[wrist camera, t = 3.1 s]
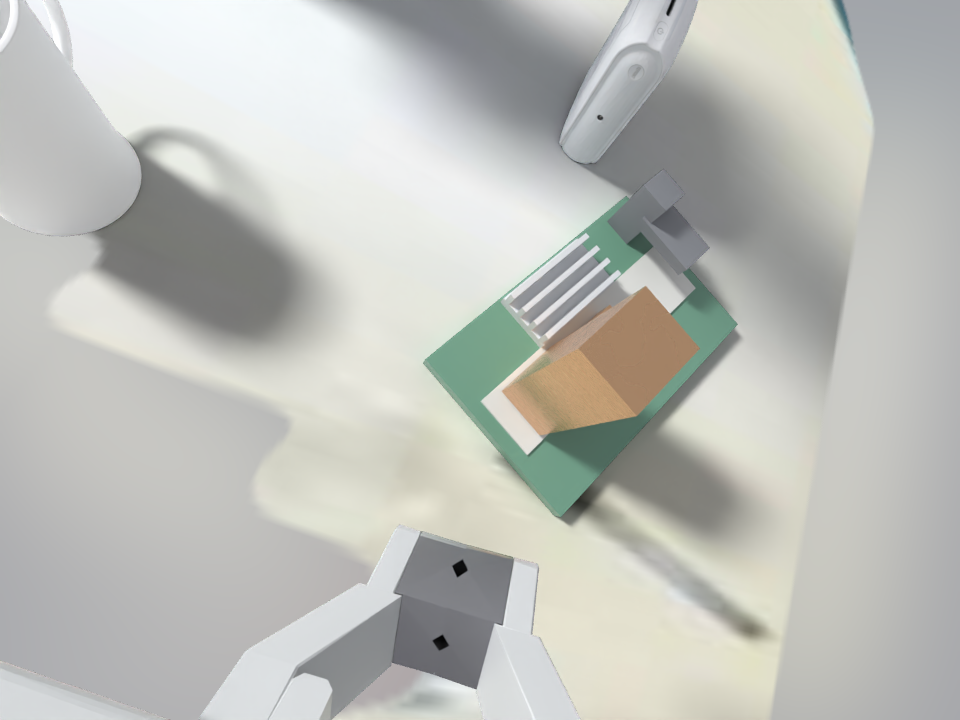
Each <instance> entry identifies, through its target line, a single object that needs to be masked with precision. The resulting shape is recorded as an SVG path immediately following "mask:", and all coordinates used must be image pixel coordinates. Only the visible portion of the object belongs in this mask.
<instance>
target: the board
mask: <svg viewBox="0 0 960 720" xmlns="http://www.w3.org/2000/svg"><path fill="white" fill-rule="evenodd" d="M684 195H685V193H684V191H683V190H682V189H681V188H680V187H679V186H678V185H677V183H676V182H675V181H674V180H673V179H672V178H671V176H670V175H669V174H668V173H667V172H666V171H665V170H664V169H663V170H661V171H660V172H659V173H658V174H656V175H655V176H654V177H653V178H652V179H650V180H649V181H648V182H647V183H645V184H644V185H643V186H642V187H641V188H640V189H639V190H638V191H637V192H636V193H635V194H634V195H633V196H632V197H631V198H630V199H629V198H628V197H627V196H626V197H625V198H623V199H622V200H621V201H620V202H618V203H617V204H616V205H615V206H614V207H612V208H611V209H610V210H609V211H607V212H606V213H605V214H604V215H602V216H601V217H600V218H599V219H598V220H596V221H595V222H594V223H593V224H591V225H590V226H589V227H588V228H586V229H585V230H584V231H583V232H581V233H580V234H579V235H578V236H577V237H575V238H574V239H573V240H572V241H570V242H569V243H568V244H567V245H565V246H564V247H563V248H562V249H561V250H559V251H558V252H557V253H556V254H554V255H553V256H552V257H551V258H549V259H548V260H547V261H546V262H545V263H543V264H542V265H541V266H540V267H538V268H537V269H536V270H535V271H533V272H532V273H531V274H530V275H529V276H527V277H526V278H525V279H524V280H522V281H521V282H520V283H519V284H517V285H516V286H515V287H514V288H513V289H511V290H510V291H509V292H508V293H506V294H505V295H504V296H503V297H501V298H500V299H499V300H498V301H497V302H495V303H494V304H493V305H492V306H490V307H489V308H488V309H487V310H485V311H484V312H483V313H482V314H481V315H479V316H478V317H477V318H476V319H474V320H473V321H472V322H471V323H469V324H468V325H467V326H466V327H465V328H463V329H462V330H461V331H460V332H458V333H457V334H456V335H455V336H453V337H452V338H451V339H450V340H449V341H447V342H446V343H445V344H444V345H442V346H441V347H440V348H439V349H437V350H436V351H435V352H434V353H433V354H431V355H430V356H429V357H428V358H426V359H425V361H424V362H423V364H424V365H425V366H426V367H427V368H428V370H429V371H430V372H431V373H432V374H433V375H434V376H435V378H436V379H437V380H438V381H439V382H440V383H441V385H442V386H443V387H444V388H445V389H446V390H447V392H448V393H449V394H450V395H451V396H452V397H453V399H454V400H455V401H456V402H457V403H458V404H459V406H460V407H461V408H462V409H463V410H464V411H465V413H466V414H467V415H468V416H469V417H470V418H471V420H472V421H473V422H474V423H475V424H476V425H477V427H478V428H479V429H480V430H481V431H482V432H483V434H484V435H485V436H486V437H487V438H488V439H489V441H490V442H491V443H492V444H493V445H494V446H495V448H496V449H497V450H498V451H499V452H500V453H501V455H502V456H503V457H504V458H505V459H506V460H507V462H508V463H509V464H510V465H511V466H512V467H513V469H514V470H515V471H516V472H517V473H518V474H519V476H520V477H521V478H522V479H523V480H524V481H525V482H526V484H527V485H528V486H529V487H530V488H531V489H532V491H533V492H534V493H535V494H536V495H537V496H538V498H539V499H540V500H541V501H542V502H543V503H544V505H545V506H546V507H547V508H548V509H549V510H550V512H551V513H552V514H553V515H554V516H558V517H561V516H562V515H563V514H564V513H565V512H566V511H567V510H568V509H569V508H570V507H571V505H572V504H573V503H574V502H575V501H576V500H577V499H578V498H579V497H580V496H581V495H582V493H583V492H584V491H585V490H586V489H587V488H588V487H589V486H590V485H591V484H592V483H593V482H594V480H595V479H596V478H597V477H598V476H599V475H600V474H601V473H602V472H603V471H604V470H605V468H606V467H607V466H608V465H609V464H610V463H611V462H612V461H613V460H614V459H615V458H616V456H617V455H618V454H619V453H620V452H621V451H622V450H623V449H624V448H625V447H626V446H627V444H628V443H629V442H630V441H631V440H632V439H633V438H634V437H635V436H636V435H637V434H638V432H639V431H640V430H641V429H642V428H643V427H644V426H645V425H646V424H647V423H648V422H649V421H650V419H651V418H652V417H653V416H654V415H655V414H656V413H657V412H658V411H659V410H660V409H661V407H662V406H663V405H664V404H665V403H666V402H667V401H668V400H669V399H670V398H671V397H672V395H673V394H674V393H675V392H676V391H677V390H678V389H679V388H680V387H681V386H682V385H683V383H684V382H685V381H686V380H687V379H688V378H689V377H690V376H691V375H692V374H693V373H694V371H695V370H696V369H697V368H698V367H699V366H700V365H701V364H702V363H703V362H704V361H705V360H706V358H707V357H708V356H709V355H710V354H711V353H712V352H713V351H714V350H715V349H716V348H717V346H718V345H719V344H720V343H721V342H722V341H723V340H724V339H725V338H726V337H727V336H728V334H729V333H730V332H731V331H732V330H733V329H734V328H735V327H736V326H737V325H738V324H737V323H736V322H735V321H734V320H733V318H732V317H731V316H730V315H729V314H728V313H727V311H726V310H725V309H724V308H723V307H722V306H721V305H720V303H719V302H718V301H717V300H716V299H715V298H714V296H713V295H712V294H711V293H710V292H709V291H708V290H707V288H706V287H705V286H704V285H703V284H702V283H701V281H700V280H699V279H698V278H697V277H696V276H695V274H694V273H693V272H692V271H691V270H690V269H689V267H690V266H691V265H692V264H694V263H695V262H696V261H697V260H698V259H699V258H700V257H701V256H702V255H703V254H704V253H705V252H706V251H707V250H708V249H709V247H708V245H707V244H706V243H705V242H704V241H703V240H702V238H701V237H700V236H699V235H698V234H697V233H696V232H695V230H694V229H693V228H692V227H691V226H690V225H689V223H688V222H687V221H686V220H685V219H684V218H683V217H682V215H681V214H680V213H679V212H678V211H677V210H676V208H675V207H674V206H673V204H674V203H676V202H677V201H678V200H679V199H680V198H681V197H683V196H684ZM645 286H647V288H648V289H649V290H650V291H651V292H652V293H653V295H654V296H655V297H656V298H657V299H658V300H659V301H660V303H661V304H662V305H663V306H664V307H665V308H666V310H667V311H668V312H669V313H670V314H671V315H672V317H673V318H674V319H675V320H676V321H677V322H678V323H679V325H680V326H681V327H682V328H683V329H684V330H685V332H686V333H687V334H688V335H689V336H690V337H691V339H692V340H693V341H694V342H695V343H696V344H697V345H698V347H699V348H700V349H699V350H698V351H697V352H696V353H695V355H694V356H693V357H692V358H691V359H690V360H689V361H688V362H687V363H686V364H685V365H684V366H683V367H682V368H681V369H680V371H679V372H678V373H677V374H676V375H675V376H674V377H673V378H672V379H671V380H670V381H669V382H668V383H667V384H666V386H665V387H664V388H663V389H662V390H661V391H660V392H659V393H658V394H657V395H656V396H655V397H654V398H653V399H652V400H651V402H650V403H649V404H648V405H647V406H646V407H645V408H644V409H643V410H642V411H641V412H640V413H639V414H638V415H637V416H635V417H630V418H625V419H620V420H615V421H610V422H605V423H600V424H595V425H590V426H585V427H580V428H575V429H570V430H565V431H560V432H555V433H550V434H545V435H539V434H538V433H537V432H536V431H535V430H534V428H533V427H532V426H531V425H530V424H529V423H528V421H527V420H526V419H525V418H524V417H523V416H522V414H521V413H520V412H519V411H518V410H517V409H516V407H515V406H514V405H513V404H512V403H511V402H510V400H509V399H508V398H507V397H506V396H505V395H504V393H503V392H502V390H503V389H504V388H505V387H506V386H508V385H509V384H510V383H511V382H512V381H513V380H514V379H515V378H516V377H518V376H519V375H520V374H521V373H522V372H523V371H524V370H525V369H526V368H528V367H529V366H530V365H531V364H532V363H533V362H534V361H535V360H536V359H537V358H539V357H540V356H541V355H542V354H543V353H544V352H545V351H546V350H547V349H549V348H550V347H551V346H552V345H554V344H556V343H557V342H559V341H560V340H562V339H563V338H565V337H567V336H568V335H570V334H571V333H573V332H574V331H576V330H577V329H579V328H581V327H582V326H584V325H585V324H586V323H587V322H588V321H590V320H591V319H592V318H593V317H594V316H595V315H596V314H597V313H598V312H599V311H601V310H603V309H604V308H606V307H607V306H609V305H611V307H613V306H615V305H616V304H618V303H620V302H621V301H623V300H624V299H626V298H627V297H629V296H630V295H632V294H634V293H635V292H637V291H638V290H640V289H641V288H643V287H645Z"/></svg>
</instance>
